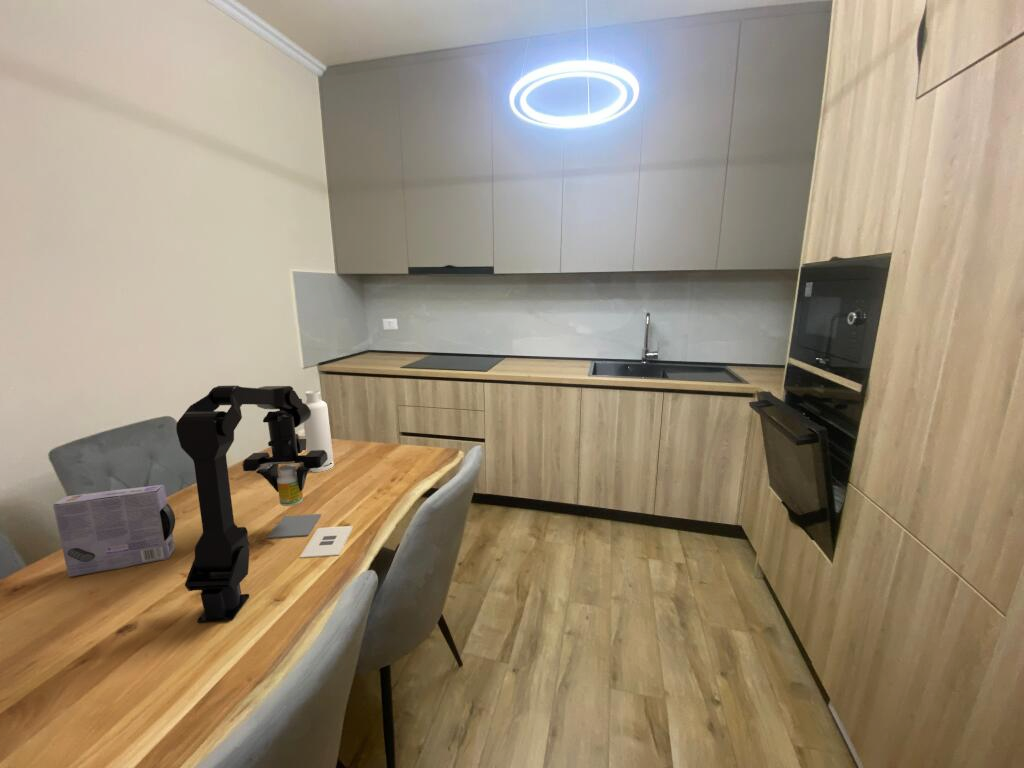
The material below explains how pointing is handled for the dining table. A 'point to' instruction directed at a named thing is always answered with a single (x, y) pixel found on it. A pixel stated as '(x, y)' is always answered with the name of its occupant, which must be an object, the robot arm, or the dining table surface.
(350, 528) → the tile
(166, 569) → the dining table surface
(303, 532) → the slate mat
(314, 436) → the bottle
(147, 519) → the cake pan box
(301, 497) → the supplement bottle
